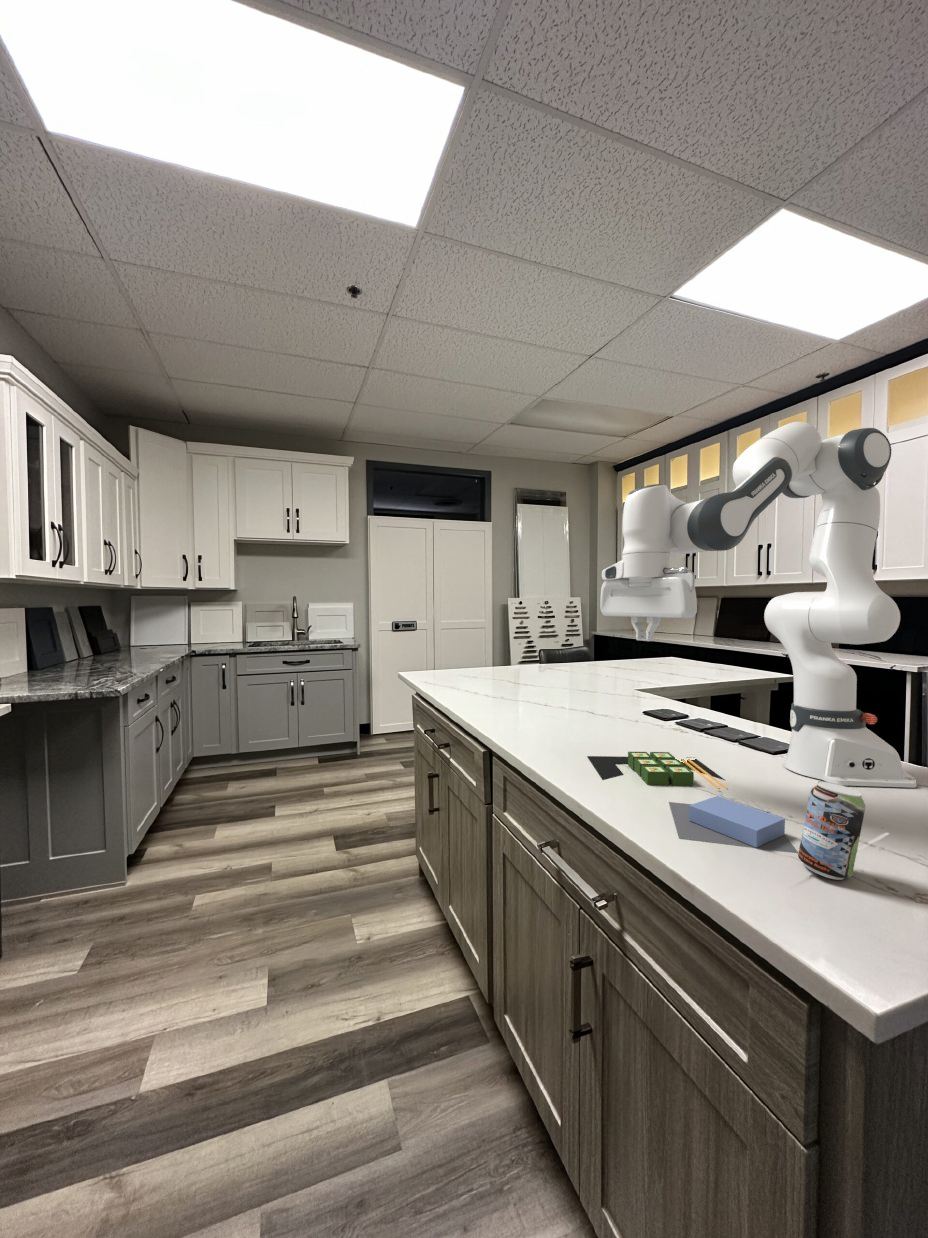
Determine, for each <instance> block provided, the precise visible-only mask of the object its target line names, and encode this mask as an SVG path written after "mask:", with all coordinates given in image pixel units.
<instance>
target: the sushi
mask: <svg viewBox="0 0 928 1238" xmlns="http://www.w3.org/2000/svg"><path fill="white" fill-rule="evenodd" d="M586 757H587V759H588V760H589V762H590V763H591V765H592V766H593V768H594V769H595V771H596V772H597V774H598V775H599V777H600V778H601V780H602V781H605V780H608V779H613V778H616V777H621V776H624V775H625V774H624V773H623V772H622V771H621V770H620V768H619V767H618V766H617V765H627V766H628V767H629V768H630V769H631V771H632V772H634V773H636V774H637V775H638V776H639V777H640V779H641V780H642V781H643V782H644V783H645V785H646V786H667V787H668V786H669V784H670V785H671V786H673V787H674V786H675V787H676V786H677V787H679V786H680V787H694V781H695V780H694V779H695V778H694V772H696V773H697V774H698V775H700V776H701V777H702V778H703V779H705V781H707V782H709V783H710V784H711V785H712V786H713V787H715V788H716V789H717V790H721V787H722V788H723V789H725V790H728V789H729V788H728V786H725V785H724V784H723V783H722V782H720V780H723V781H726V779H724V778H723V777H722V776H720V775H719V774H717V772H715V771H714V770H712V769H711V768H710V767H708V766H707V765H705V764H704V763H703V762H702V761H701V760H699V759H697V758H696V759H695V760H690V759H688V760H687V762H686V761H685V760H684V759H681V761H683V762H684V763H683V762H680V761H679V760H677V759H675V757H676V756H674V755H673V754H671V753H670V752H668V751H649V752H647V751H627V756H611V755H610V756H606V755H605V756H604V755H602V756H601V755H600V756H599V755H597V756H596V755H595V756H594V755H587V756H586ZM705 775H706V776H708V777H710V778H711V779H712V780H713V781H715V783H717V784H719V786H721V787H719V786H718V785H717V784H715V783H714V782H713V781H712V780H710V779H709V778H707V777H706V776H705ZM718 779H719V780H718Z"/></svg>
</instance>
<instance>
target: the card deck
mask: <svg viewBox="0 0 928 1238" xmlns="http://www.w3.org/2000/svg"><path fill="white" fill-rule="evenodd" d="M767 812H768V811H764V810H760V809H757V808H755V807H752V806H749V805H746V804H742V803H739V802H737V801H734V800H731V799H728V798H725V797H722V796H721V795H716V796H712V797H710V798H706V799H704V800H701V801H698V802H695V803H692V805H689V821H692V822H694V823H697V824H699V825H702V826H704V827H707V828H709V829H712V830H714V831H717V832H719V833H721V834H724V835H726V836H729V837H731V838H734V839H736V840H739V841H741V842H744V843H746V844H749V845H751V846H754V847H759V846H761V845H763V844H765V843H767V842H770V841H772V840H774V839H776V838H778V837H781V836H783V835H786V833H785V830H786V819H785V818H784V817H781V816H778V815H775V814H772V813H769V812H768V813H767Z"/></svg>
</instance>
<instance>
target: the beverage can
mask: <svg viewBox="0 0 928 1238" xmlns="http://www.w3.org/2000/svg"><path fill="white" fill-rule="evenodd" d="M816 783H817V784H815V785H814V786H813V787H812V788H811V789H810V791H809V797H808V802H807V807H806V812H805V817H804V821H803V827H802V833H801V838H800V844H799V848H798V849H799V850H798V853H797V856H798V859H799V860H800V861H801V862H802V863H803V865H804V867H806V868H807V869H808V870H810V871H811V872H813V873H815V874H817V875H819V876H822V877H825V878H827V879H832V880H838V881H842V880H844V879H850V878H852V877H853V873H854V867H855V862H856V859H857V858H856V857H857V853H858V846H859V843H860V836H861V831H862V829H863V828H862V826H863V823H864V817H865V811H866V804H865V802H864V800H863V798H862V797H863V794H862V793H861V792H860V791H858V790H857V789H854V788H850V787H848V786H847V785H839V784H835V783H831V782H827V781H824V780H822V781H821V780H819V781H817V782H816Z"/></svg>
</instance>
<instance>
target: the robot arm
mask: <svg viewBox="0 0 928 1238" xmlns="http://www.w3.org/2000/svg"><path fill="white" fill-rule="evenodd" d="M891 458H892V446H891V442H890V440H889V438H888V437H887V436H886V435H885V434H884V433H883V432H882V431H881V430H880V429H878V428H875V427H864V428H858V429H856V428H855V429H852V430H850V431H847V433H842V434H838V435H835V436H832V437H828V438H825V439H823V440H822V436H821V434H820V432H819V431H818V429H817V428H816V427H815V426H814V425H813V424H810V423H808V422H806V421H805V422H804V421H793V422H789V423H787V424H785V425H781V426H780V427H778V428H775V429H774V430H772V431H770V432H768V433H767V434H765V435H763V436H762V437H760V438H759V439H758V440H756V441H754V443H752V444H751V445H749V446H748V447H747V448H745V450H744V451H743V452H741V453H740V455H739V456H738V457H737V458H736V460H735V461H734V462H733V464H732V479H733V483H734V485H735V486H736V487H735V488H734V489H733V490H732V491H729V492H722V493H721V492H720V493H718V494H714V495H712V496H709V497H707V498H703V499H701V500H700V499H699V500H696V501H693V502H689V503H687V502H685V501H683V500H681V499H679V498H678V497H676V496H675V495H674V494H673V493H672V492H671V491H670V490H669V488H668V486H667V484H663V483H655V484H648V485H646V486H641V487H638V488H635V489H633V490H631V491H630V492H628V494H626V497H625V500H624V505H623V511H622V528H621V529H622V530H621V531H622V537H623V540H624V545H623V548H622V549H623V550H622V552H621V553H622V555H621V558H622V559H621V560H619V561H618V562H616V563H614V564H612V565H610V566H608V567H606V568H604V569H603V570H602V571H601V578H602V580H603V583H602V585H601V588H600V602H599V605H600V609H599V610H600V612H601V614H602V615H603V617H630V619H631V620H630V623H631V625H632V628H633V629H634V631H635V639H636V641H641V642H642V641H643V642H653V641H654V640H655V632H656V630H657V629H658V626H659V625H660V623H661V620H660V619H661V618H669V619H670V618H671V619H672V618H673V619H674V618H675V619H692V618H694V617H695V616H696V614H697V612H698V601H697V593H696V592H697V591H696V576H695V573H694V572H693V571H692V570H691V569H690V568H688V566H687V567H686V566H681V567H671V554H673V555H687V554H697V553H702V552H703V553H704V552H724V551H729V550H732V549H734V548H735V547H736V546H738V545H739V544H740V543H741V542H742V541H743V540H744V538H745V536H746V535H747V533H748V532H749V530H750V527H751V525H752V524H753V523H754V521H755V520H756V518H757V517H758V516H759V515H760V514H761V513H762V512H764V510H765V509H766V508H767V507H769V506H770V505H771V504H772V503H773V502H774V501H775V500H776V499H777V498H778V497H779V496H780V495H781V494H783V495H784V496H786V498H790V499H805V498H809V497H811V496H818V495H821V501H822V507H821V510H820V513H819V515H818V518H817V522H816V524H815V529H814V532H813V536H812V537H813V538H812V542H811V544H810V545H811V546H810V550H809V554H808V563H809V565H810V567H811V568H812V570H813V571H814V572H816V573H817V574H819V575H820V576H823V577H824V578H826V589H825V590H824V591H803V592H802V591H796V592H791V593H790V592H789V593H785V594H782V595H778V596H775V597H773V598H771V600H769V601H768V604H767V605H766V607H765V609H764V614H763V615H764V616H763V618H764V619H763V620H764V623H765V626H766V628H767V630H768V631H769V632H770V633H771V634H772V635H773V636H774V637H776V639H778V641H780V643H781V644H782V646H783V647H784V650H785V651H786V653H787V656H788V658H789V660H790V663H791V667H792V674H793V675H792V676H793V677H792V678H793V702H792V703H791V706H790V714H789V715H790V717H789V718H790V719H789V723H790V728H791V736H790V739H789V740H790V741H789V744H788V745H789V746H788V749H787V753H786V757H785V760H784V762H783V766H784V767H785V768H786V769H787V770H790V771H791V772H793V773H796V774H799V775H802V776H806V777H809V778H814V779H818V780H820V781H821V780H822V781H825V782H831V783H835V784H839V785H843V786H846V787H848V786H852V787H853V786H854V787H856V786H857V787H882V788H883V787H887V788H910V789H911V788H913V789H914V788H917V786H918V785H917V780H916V778H915V777H914V776H912V774H910V773H909V772H906V771H904V770H903V767H902V762H901V760H902V759H901V757H900V755H899V753H898V752H897V750H896V749H895V748H894V747H893V746H892V745H890V744H889V743H888V742H886V741H885V740H884V739H882V738H881V737H879V736H878V735H877V734H876V733H874V732H873V731H872V730H870V729H868V728H867V726H866V725H867V724H868V725H875V724H876V723H877V722H878V717H877V716H876V715H875V714H872V713H869V712H863V711H861V710H860V709H858V708H857V689H858V688H857V687H858V686H857V683H858V682H857V681H858V679H857V678H858V676H857V674H856V672H855V670H854V669H853V668H852V667H851V665H849V664H848V663H846V662H844V661H843V660H841V659H840V658H839V657H838V656H837V655H836V654H835V652H834V649H833V647H832V644H845V645H846V644H847V645H848V644H849V645H865V644H876V643H881V642H882V643H883V642H886V641H888V640H889V639H891V638H892V637H893V635H894V634H896V632H897V630H898V629H899V626H900V622H901V611H900V609H899V607H898V604H897V603H896V602H895V600H894V599H893V598H892V597H890V596H889V595H888V594H886V593H885V592H884V591H883V590H882V589H881V588H880V587H879V586H878V584H877V583H876V580H875V578H874V574H873V559H874V558H873V557H874V552H875V551H874V550H875V545H876V541H877V540H876V539H877V538H878V537H877V535H878V531H879V528H880V527H879V526H880V525H879V524H880V519H881V495H880V491H879V490H878V489H877V487H876V486H877V485H879V484H880V482H881V481H882V479H883V477H884V475H885V473H886V471H887V469H888V466H889V464H890V461H891ZM604 580H605V581H604ZM645 618H646V624H648V625H647V627H646V629H645V628H644V626H643V623H645V622H644V621H645Z"/></svg>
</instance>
